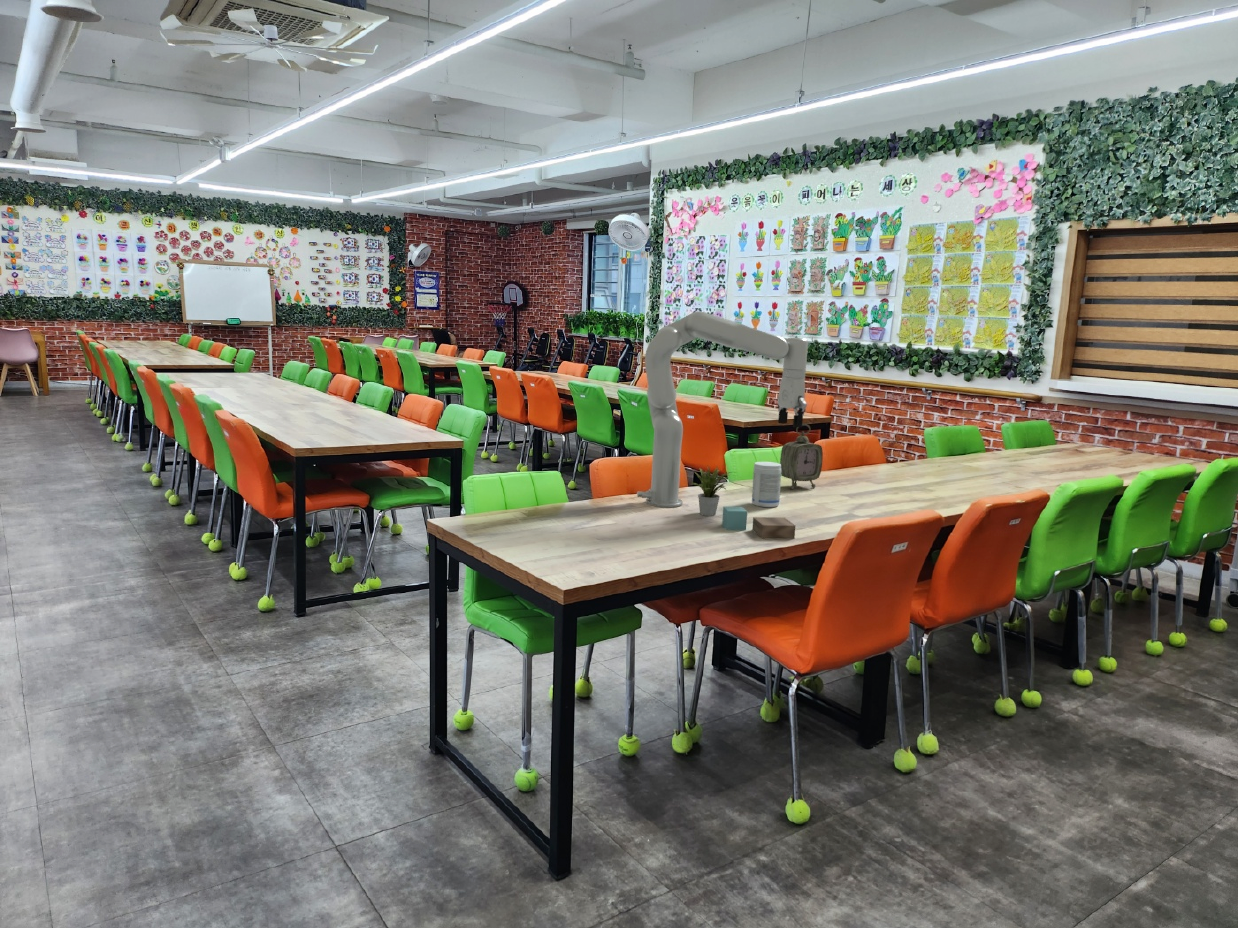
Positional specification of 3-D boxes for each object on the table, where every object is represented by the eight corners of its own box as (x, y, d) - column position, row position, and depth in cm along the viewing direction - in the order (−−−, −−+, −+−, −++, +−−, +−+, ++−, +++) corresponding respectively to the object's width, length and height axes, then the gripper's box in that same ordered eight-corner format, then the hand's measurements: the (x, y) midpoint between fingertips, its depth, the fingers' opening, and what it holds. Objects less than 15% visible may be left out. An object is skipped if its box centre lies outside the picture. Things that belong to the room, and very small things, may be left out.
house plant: (728, 521, 270) (732, 471, 267) (685, 517, 272) (688, 468, 269) (731, 512, 283) (735, 464, 281) (690, 508, 286) (693, 460, 283)
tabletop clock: (791, 491, 323) (796, 426, 318) (776, 486, 331) (780, 422, 326) (820, 488, 330) (825, 425, 325) (804, 484, 338) (809, 422, 333)
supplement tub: (784, 505, 297) (787, 464, 294) (768, 509, 290) (771, 467, 288) (762, 500, 303) (765, 460, 301) (745, 503, 297) (748, 462, 294)
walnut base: (762, 538, 251) (762, 525, 250) (752, 529, 261) (753, 517, 260) (794, 538, 252) (795, 525, 252) (783, 530, 262) (784, 517, 261)
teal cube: (727, 530, 259) (728, 511, 258) (722, 525, 265) (723, 506, 264) (745, 530, 260) (747, 511, 259) (740, 525, 266) (741, 506, 265)
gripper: (771, 372, 292) (767, 421, 295) (797, 376, 276) (793, 428, 279) (790, 373, 295) (786, 421, 298) (817, 377, 279) (813, 428, 282)
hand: (789, 425), depth 288 cm, fingers open, 9 cm apart
